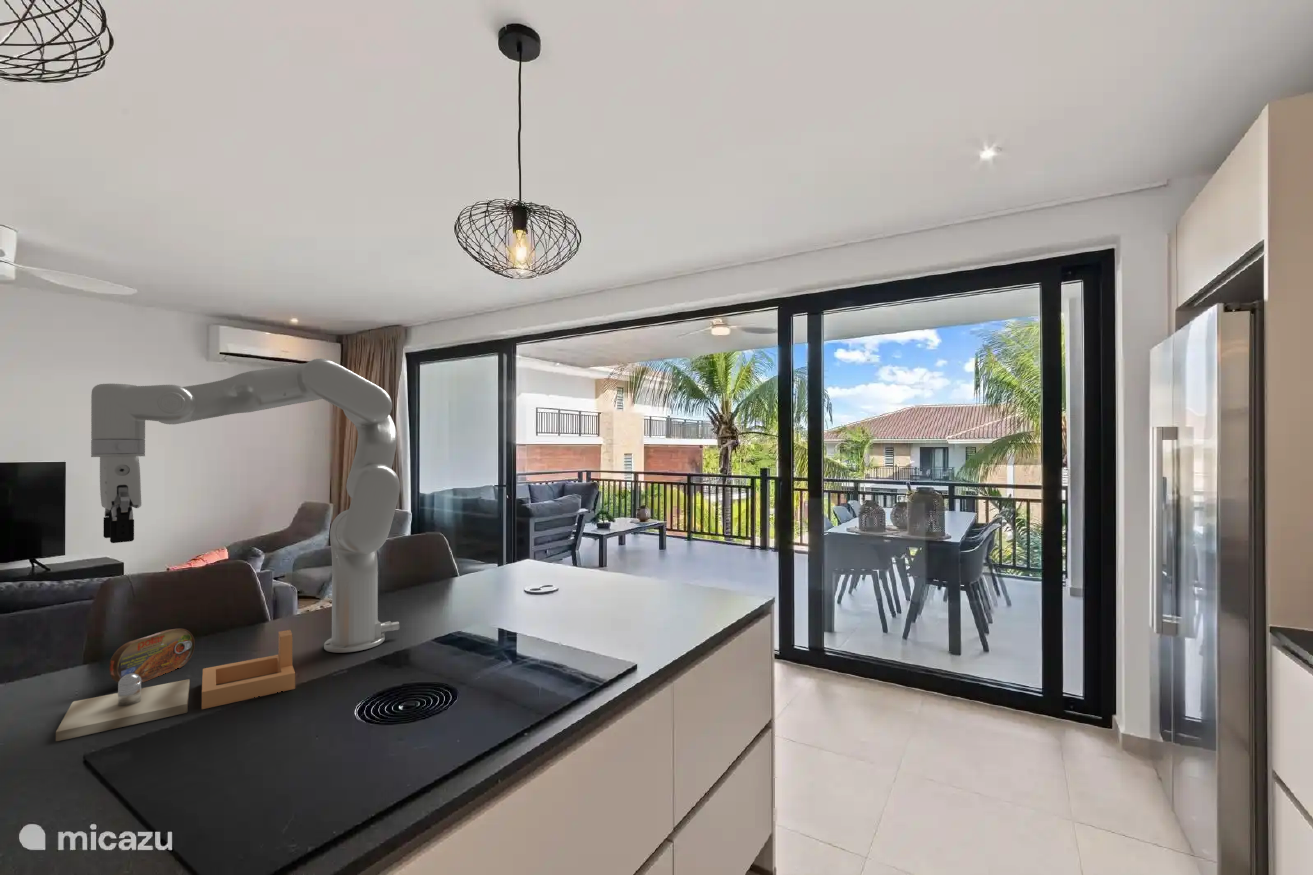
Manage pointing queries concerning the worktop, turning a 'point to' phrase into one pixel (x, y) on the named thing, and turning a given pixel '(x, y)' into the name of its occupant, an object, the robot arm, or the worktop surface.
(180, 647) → the tin
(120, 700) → the post
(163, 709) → the board
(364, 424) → the robot arm
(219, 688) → the orange walled frame piece
